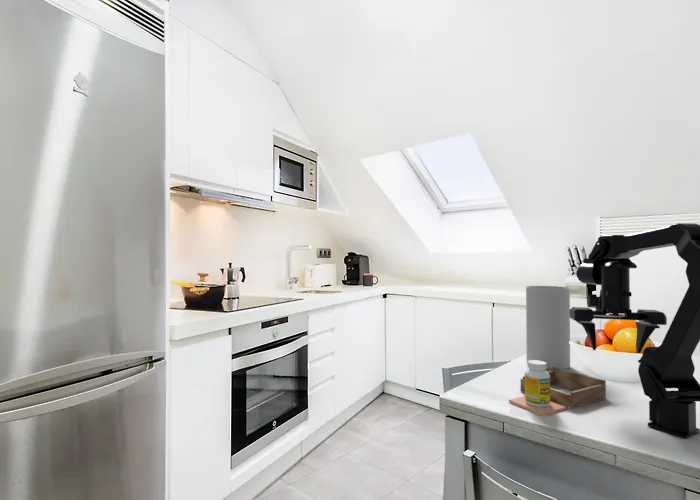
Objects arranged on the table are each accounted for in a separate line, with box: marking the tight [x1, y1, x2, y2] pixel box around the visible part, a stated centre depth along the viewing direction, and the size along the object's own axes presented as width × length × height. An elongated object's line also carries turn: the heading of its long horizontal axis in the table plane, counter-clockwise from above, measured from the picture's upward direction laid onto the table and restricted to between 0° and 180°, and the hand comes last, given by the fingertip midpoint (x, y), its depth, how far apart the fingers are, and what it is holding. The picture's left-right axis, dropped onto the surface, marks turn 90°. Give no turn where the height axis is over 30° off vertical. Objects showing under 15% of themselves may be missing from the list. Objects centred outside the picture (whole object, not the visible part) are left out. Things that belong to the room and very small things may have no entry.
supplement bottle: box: [524, 360, 551, 407], centre depth 91 cm, size 5×5×10 cm
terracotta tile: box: [508, 395, 567, 417], centre depth 91 cm, size 9×8×1 cm
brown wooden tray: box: [520, 367, 607, 410], centre depth 99 cm, size 14×14×4 cm
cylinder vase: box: [525, 285, 571, 371], centre depth 126 cm, size 12×12×25 cm
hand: (615, 351), depth 94 cm, fingers open, 9 cm apart
